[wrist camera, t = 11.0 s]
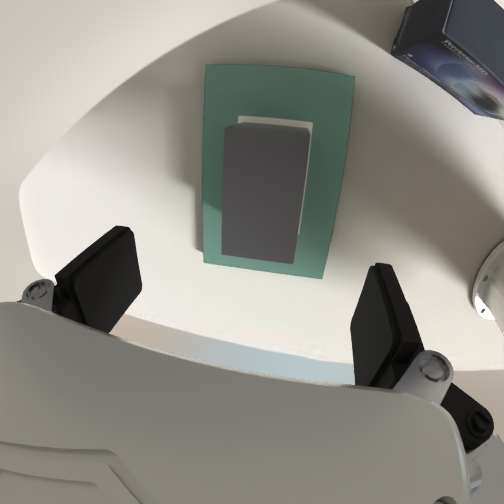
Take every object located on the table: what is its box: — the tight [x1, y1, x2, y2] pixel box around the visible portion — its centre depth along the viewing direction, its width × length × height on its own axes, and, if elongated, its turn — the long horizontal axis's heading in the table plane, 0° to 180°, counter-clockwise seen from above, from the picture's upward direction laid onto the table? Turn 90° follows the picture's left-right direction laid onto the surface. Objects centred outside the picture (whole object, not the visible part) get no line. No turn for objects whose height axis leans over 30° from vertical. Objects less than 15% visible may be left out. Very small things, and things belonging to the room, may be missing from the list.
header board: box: [202, 64, 355, 279], centre depth 24 cm, size 12×19×2 cm, turn 177°
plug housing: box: [221, 122, 311, 264], centre depth 20 cm, size 5×9×6 cm, turn 177°
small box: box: [391, 0, 504, 120], centre depth 11 cm, size 11×6×10 cm, turn 71°
